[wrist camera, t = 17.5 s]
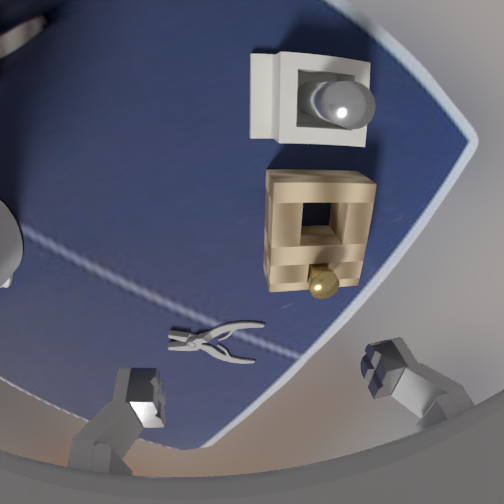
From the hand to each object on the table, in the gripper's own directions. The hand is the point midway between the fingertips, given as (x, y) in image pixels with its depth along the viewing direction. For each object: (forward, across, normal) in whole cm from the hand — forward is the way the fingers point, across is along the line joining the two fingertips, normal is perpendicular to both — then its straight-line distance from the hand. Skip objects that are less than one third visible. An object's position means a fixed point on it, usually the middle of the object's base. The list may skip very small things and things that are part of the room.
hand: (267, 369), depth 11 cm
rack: (+29, -10, -9) cm, 32 cm away
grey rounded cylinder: (+28, -10, -9) cm, 31 cm away
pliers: (+30, +3, +28) cm, 41 cm away
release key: (+28, -11, +12) cm, 33 cm away
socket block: (+29, -11, +7) cm, 32 cm away
